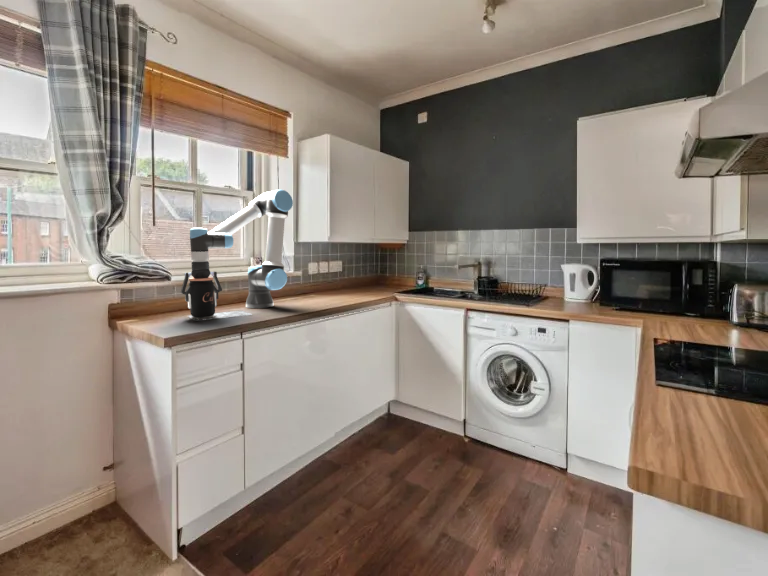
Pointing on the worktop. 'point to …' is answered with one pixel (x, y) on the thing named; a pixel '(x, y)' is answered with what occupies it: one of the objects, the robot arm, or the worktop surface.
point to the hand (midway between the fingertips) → (202, 307)
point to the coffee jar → (202, 297)
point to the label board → (221, 315)
